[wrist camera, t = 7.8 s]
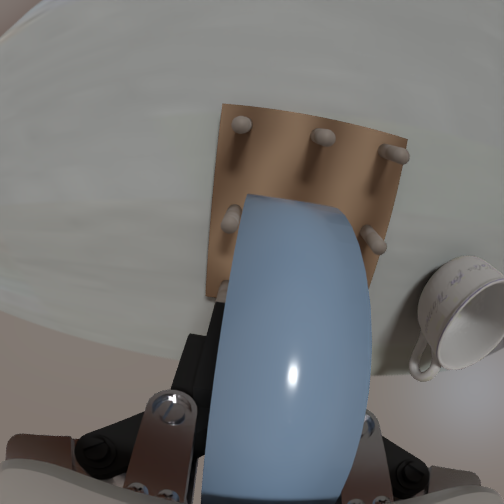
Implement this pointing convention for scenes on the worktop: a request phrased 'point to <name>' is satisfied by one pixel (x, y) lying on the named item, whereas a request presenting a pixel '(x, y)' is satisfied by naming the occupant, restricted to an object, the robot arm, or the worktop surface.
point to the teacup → (459, 316)
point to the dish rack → (301, 177)
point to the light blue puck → (289, 359)
